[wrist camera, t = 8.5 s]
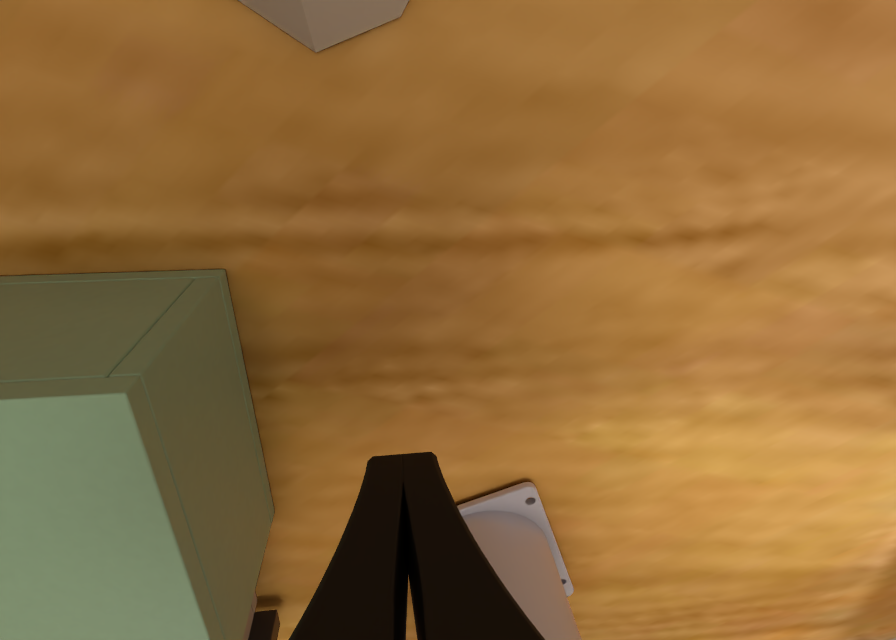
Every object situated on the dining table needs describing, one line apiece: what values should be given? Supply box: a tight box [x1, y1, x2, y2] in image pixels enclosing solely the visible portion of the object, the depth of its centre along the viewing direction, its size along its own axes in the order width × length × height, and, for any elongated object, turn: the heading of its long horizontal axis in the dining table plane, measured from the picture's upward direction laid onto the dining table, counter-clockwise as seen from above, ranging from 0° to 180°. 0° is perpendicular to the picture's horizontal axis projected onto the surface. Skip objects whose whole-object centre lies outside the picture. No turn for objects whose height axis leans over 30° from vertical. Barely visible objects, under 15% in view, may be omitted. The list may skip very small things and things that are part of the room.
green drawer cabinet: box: [0, 269, 275, 640], centre depth 17 cm, size 13×12×8 cm
